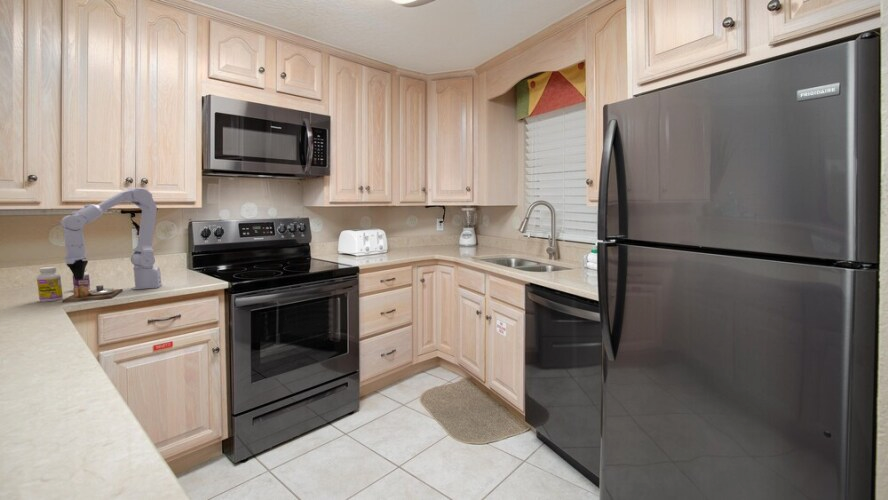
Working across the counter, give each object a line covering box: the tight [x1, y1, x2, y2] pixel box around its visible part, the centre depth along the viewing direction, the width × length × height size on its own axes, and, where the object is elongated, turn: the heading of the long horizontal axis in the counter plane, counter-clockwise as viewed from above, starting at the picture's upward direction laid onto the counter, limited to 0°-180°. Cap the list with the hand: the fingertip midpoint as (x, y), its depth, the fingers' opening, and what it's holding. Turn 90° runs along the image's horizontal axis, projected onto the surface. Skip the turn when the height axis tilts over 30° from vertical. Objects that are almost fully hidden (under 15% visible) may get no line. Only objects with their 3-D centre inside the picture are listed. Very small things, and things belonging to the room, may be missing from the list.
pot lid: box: [72, 284, 115, 297], centre depth 165 cm, size 12×9×3 cm
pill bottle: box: [72, 267, 91, 290], centre depth 178 cm, size 5×5×10 cm
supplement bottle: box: [36, 266, 64, 303], centre depth 159 cm, size 7×7×13 cm
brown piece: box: [61, 286, 124, 303], centre depth 166 cm, size 15×15×6 cm
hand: (79, 279), depth 164 cm, fingers closed
